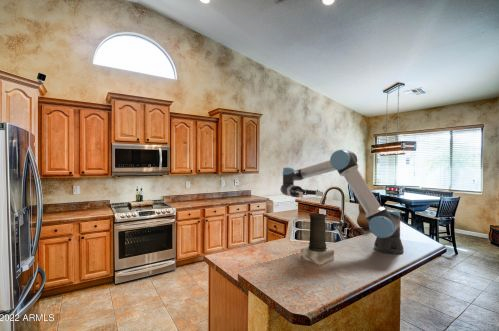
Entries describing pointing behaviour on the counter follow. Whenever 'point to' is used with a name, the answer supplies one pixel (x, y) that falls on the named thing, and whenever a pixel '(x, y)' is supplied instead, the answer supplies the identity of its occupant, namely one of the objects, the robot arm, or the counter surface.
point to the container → (317, 232)
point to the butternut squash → (362, 218)
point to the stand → (317, 255)
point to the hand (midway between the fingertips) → (312, 194)
